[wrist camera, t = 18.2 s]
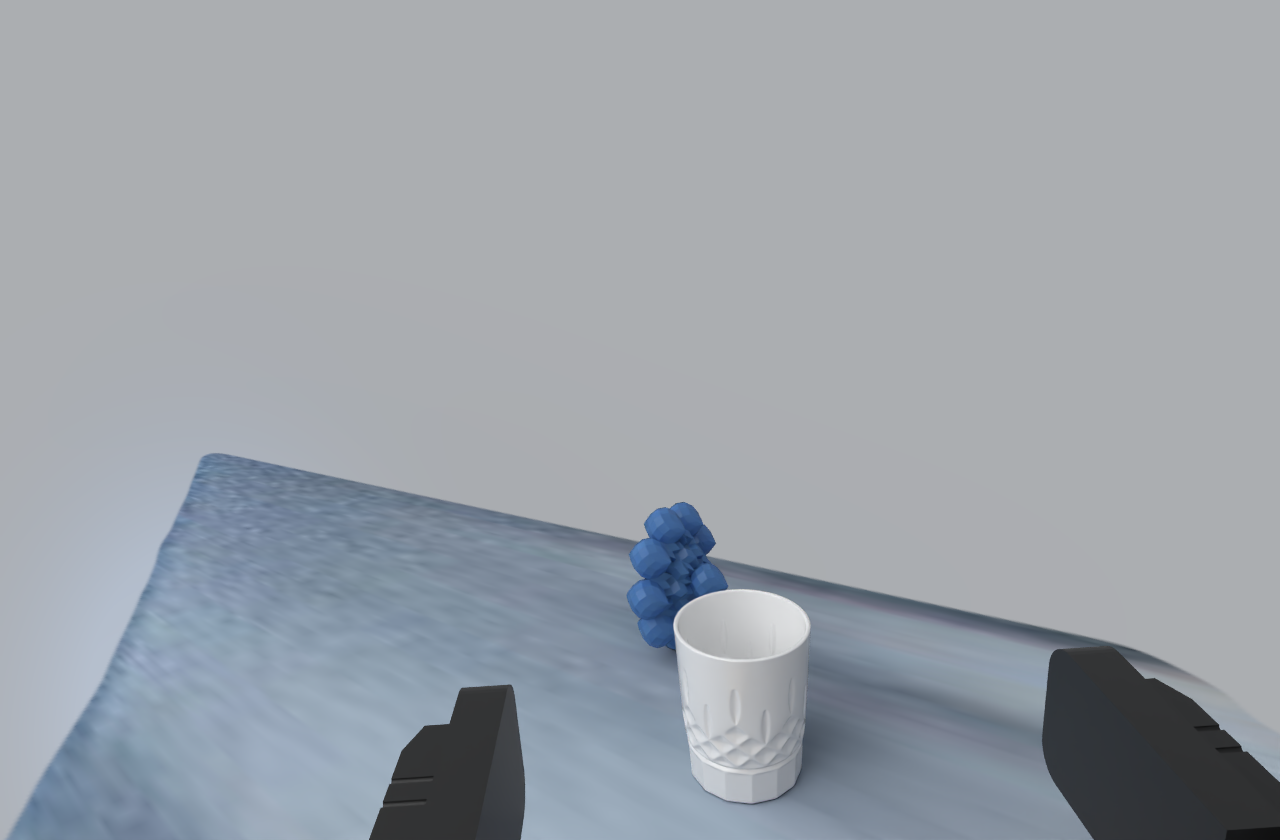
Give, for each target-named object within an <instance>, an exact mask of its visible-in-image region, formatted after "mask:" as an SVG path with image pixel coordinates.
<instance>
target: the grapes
mask: <svg viewBox="0 0 1280 840" xmlns="http://www.w3.org/2000/svg"><path fill="white" fill-rule="evenodd" d="M644 526H645V529H646V531H647V533H648V535H649V537H650V538H647V539H642V540H641V541H640V542H638V543H637V544H636V545H635V546H634V548H633V549H632V550H631V552H630V554H629V556H630V560H631V562H632V565H633V567H634V569H635V570H636V571H637V572H638V573H639V574H640V575H641V576H642V577H644V578H645V579H642V580H639V581H638V582H637V583H636V584H634V585H633V586H632V587H631V589H630V590H629V591H628V593H627V599H628V602H629V604H630V607H631V609H632V611H633V612H634V613H635V614H636V615H637V616H638V617H639V618H641V619H640V620H639V621H638V627H639V630H640V632H641V635H642V637H643V639H644V640H645V641H646V642H647V643H648V644H649V645H650V646H653V647H656V648H659V647H663V646H667V647H668V648H671V649H674V650H676V645H675V636H674V627H673V624H674V619H675V616H676V615H677V613H678V612H679V610H680V609H681V608H682V607H683V606H685V605H686V604H687V603H689V602H690V601H692V600H694V599H696V598H698V597H700V596H703V595H706V594H709V593H713V592H718V591H724V590H726V589H727V588H728V585H727V582H726V580H725V578H724V576H723V574H722V573H721V571H720V570H719V569H718V568H717V567H716V566H714V565H712V564H711V562H710V561H709V560H708V559H707V557H706V554H708V553H709V552H710V550H711V549H712V548H713V547H714V545H715V544H716V543H715V540H714V538H713V536H712V534H711V532H710V531H709V529H708V528H707V527H706V526H705V525H703V522H702V520H701V518H700V516H699V514H698V512H697V511H696V509H695V508H694V507H693V506H692V505H689V504H688V503H685V502H681V503H676V504H675V505H673V506H672V507H671V508H670V509H668V508H666V507H664V508H659V509H657V510H655V511H654V512H653V513H651V514H650V516H649V517H648V519H647V520H646V521H645V523H644Z"/></svg>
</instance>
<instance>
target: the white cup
mask: <svg viewBox="0 0 1280 840" xmlns="http://www.w3.org/2000/svg"><path fill="white" fill-rule="evenodd" d="M673 627H674V636H675V645H676V655H677V664H678V674H679V682H680V692H681V701H682V711H683V716H684V722H685V730H686V733H687V735H688V742H689V747H690V757H691V768H692V774H693V776H694V777H695V778H696V780H697V781H698V782H699V783H700V785H701V786H702V787H703V788H704V790H706V791H707V792H709V793H711V794H713V795H716V796H718V797H720V798H722V799H724V800H726V801H732V802H740V803H749V804H754V803H758V802H763V801H767V800H772V799H776V798H778V797H779V796H780V795H782V794H783V793H785V792H786V791H787V790H789V789H790V788H792V787H793V786H794V785H795V782H796V780H797V778H798V775H799V773H800V770H801V766H802V741H803V735H804V729H805V712H806V705H807V691H808V669H809V649H810V631H811V624H810V620H809V617H808V616H807V614H806V613H805V611H804V610H803V609H802V608H801V607H800V606H798V605H797V604H796V603H794V602H792V601H791V600H789V599H787V598H785V597H782V596H779V595H776V594H773V593H769V592H765V591H759V590H748V589H734V590H724V591H718V592H713V593H709V594H706V595H703V596H700V597H698V598H696V599H694V600H692V601H690V602H689V603H687V604H686V605H685V606H683V607H682V608H681V609H680V610H679V612H678V613H677V615H676V616H675V619H674V624H673Z"/></svg>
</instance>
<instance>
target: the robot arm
mask: <svg viewBox="0 0 1280 840" xmlns="http://www.w3.org/2000/svg"><path fill="white" fill-rule="evenodd" d="M1042 744H1043V752H1044V757H1045V761H1046V765H1047V768H1048V770H1049V773H1050V775H1051V777H1052V779H1053V781H1054V783H1055V784H1056V786H1057V787H1058V789H1059V790H1060V792H1061V793H1062V794H1063V796H1064V797H1065V799H1066V800H1067V802H1068V803H1069V805H1070V806H1071V807H1072V809H1073V810H1074V812H1075V813H1076V815H1077V816H1078V818H1079V819H1080V820H1081V822H1082V823H1083V825H1084V826H1085V828H1086V829H1087V831H1088V832H1089V833H1090V835H1091V836H1092V838H1093V839H1094V840H1280V782H1279V781H1278V780H1277V779H1276V778H1274V777H1273V776H1272V775H1271V774H1270V773H1269V772H1268V771H1267V770H1266V769H1265V768H1264V767H1263V766H1262V765H1261V764H1260V763H1259V762H1258V761H1257V760H1256V759H1254V758H1253V757H1252V756H1251V755H1250V754H1249V753H1248V752H1243V751H1242V748H1241V745H1240V744H1239V743H1238V742H1237V741H1236V740H1234V739H1233V738H1232V737H1231V736H1230V735H1229V734H1228V733H1227V732H1226V731H1225V730H1220V728H1219V724H1218V723H1217V722H1216V721H1214V720H1213V719H1212V718H1211V717H1210V716H1209V715H1208V714H1207V713H1206V712H1205V711H1204V710H1203V709H1202V708H1201V707H1200V706H1199V705H1198V704H1197V703H1195V702H1194V701H1193V700H1192V699H1191V698H1189V697H1187V696H1185V695H1184V694H1182V693H1180V692H1178V691H1176V690H1175V689H1173V688H1171V687H1169V686H1168V685H1166V684H1164V683H1162V682H1160V681H1159V680H1157V679H1155V678H1152V679H1145V678H1144V677H1143V676H1142V675H1141V674H1140V673H1139V672H1138V671H1137V670H1136V669H1135V668H1134V667H1133V666H1132V665H1131V664H1130V663H1129V662H1128V661H1127V660H1126V659H1125V658H1124V657H1123V656H1122V655H1121V654H1120V653H1119V652H1118V651H1117V650H1115V649H1114V648H1112V647H1110V646H1100V647H1085V648H1070V649H1057V650H1055V651H1054V652H1053V653H1052V655H1051V658H1050V662H1049V671H1048V681H1047V692H1046V702H1045V713H1044V723H1043V734H1042ZM524 809H525V777H524V766H523V758H522V750H521V742H520V734H519V727H518V719H517V711H516V703H515V695H514V691H513V687H512V685H498V686H483V687H468V688H461V690H460V691H459V694H458V697H457V701H456V704H455V707H454V711H453V714H452V717H451V720H450V724H444V725H429V726H424V727H423V728H422V730H421V731H420V732H419V733H418V734H417V735H416V736H415V737H414V738H413V739H412V740H411V741H410V742H409V744H408V745H407V746H406V747H405V748H404V749H403V750H402V752H401V754H400V757H399V760H398V762H397V765H396V768H395V771H394V773H393V776H392V783H391V784H389V787H388V790H387V792H386V795H385V798H384V800H383V808H381V809H380V811H379V814H378V817H377V819H376V822H375V825H374V827H373V830H372V833H371V836H370V838H369V840H520V839H521V832H522V826H523V819H524Z"/></svg>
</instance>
